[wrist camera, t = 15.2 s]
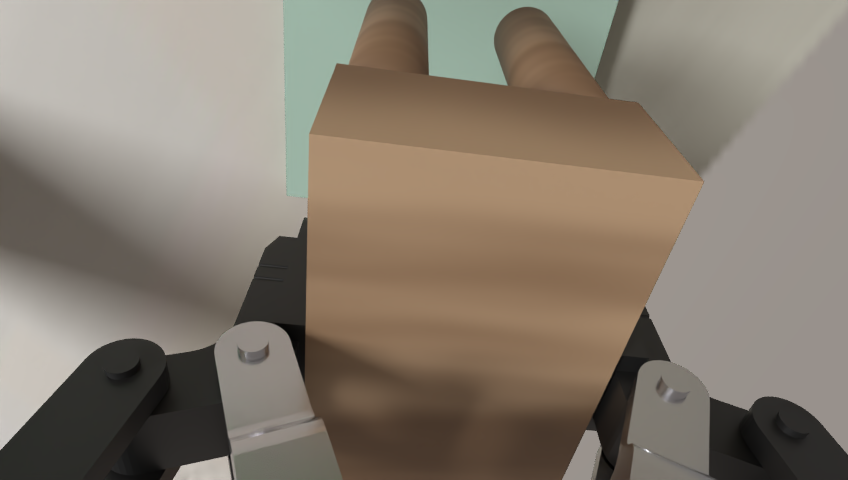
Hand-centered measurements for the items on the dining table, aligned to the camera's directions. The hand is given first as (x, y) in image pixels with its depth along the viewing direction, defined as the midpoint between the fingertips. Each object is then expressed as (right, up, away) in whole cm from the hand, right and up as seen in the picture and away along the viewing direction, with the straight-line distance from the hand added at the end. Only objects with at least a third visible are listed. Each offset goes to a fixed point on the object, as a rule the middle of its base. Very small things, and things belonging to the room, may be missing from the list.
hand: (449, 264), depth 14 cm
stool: (-1, -4, +5) cm, 6 cm away
